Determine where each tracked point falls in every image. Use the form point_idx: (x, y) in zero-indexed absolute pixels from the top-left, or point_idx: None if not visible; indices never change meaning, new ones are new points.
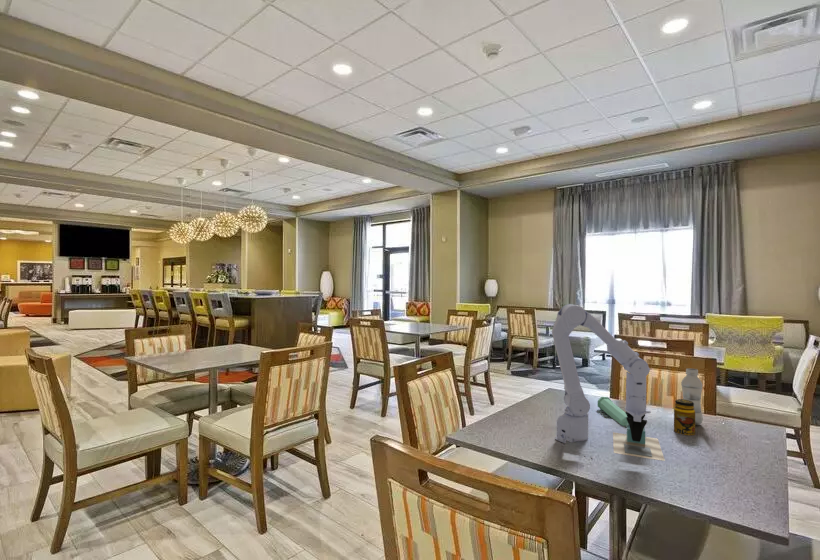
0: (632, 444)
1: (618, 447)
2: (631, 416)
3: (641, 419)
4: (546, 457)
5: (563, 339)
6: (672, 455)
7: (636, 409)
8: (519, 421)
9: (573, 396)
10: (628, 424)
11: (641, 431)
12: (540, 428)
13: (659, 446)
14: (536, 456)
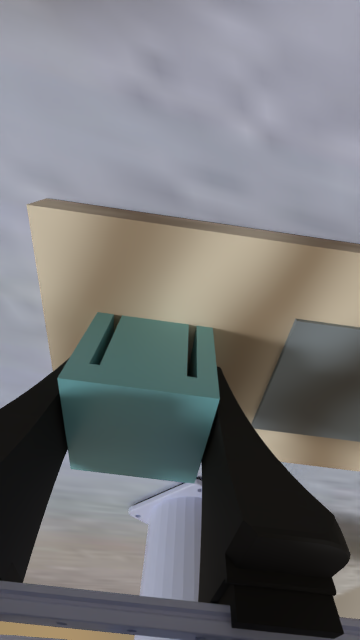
0: (236, 391)
1: (299, 450)
2: (25, 530)
3: (18, 455)
4: (353, 562)
5: None
6: (301, 144)
7: None
8: (74, 575)
9: None
10: (74, 462)
11: (250, 432)
12: (109, 554)
13: (235, 241)
14: (346, 572)
